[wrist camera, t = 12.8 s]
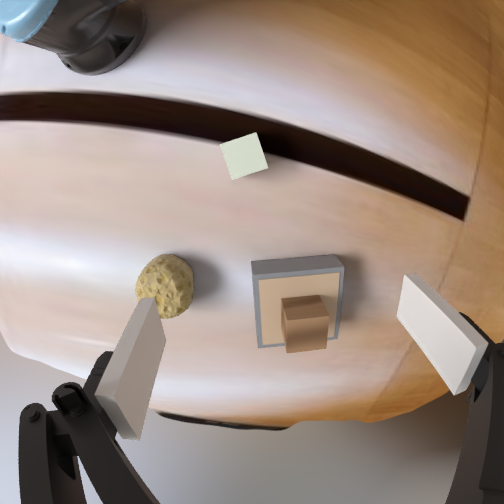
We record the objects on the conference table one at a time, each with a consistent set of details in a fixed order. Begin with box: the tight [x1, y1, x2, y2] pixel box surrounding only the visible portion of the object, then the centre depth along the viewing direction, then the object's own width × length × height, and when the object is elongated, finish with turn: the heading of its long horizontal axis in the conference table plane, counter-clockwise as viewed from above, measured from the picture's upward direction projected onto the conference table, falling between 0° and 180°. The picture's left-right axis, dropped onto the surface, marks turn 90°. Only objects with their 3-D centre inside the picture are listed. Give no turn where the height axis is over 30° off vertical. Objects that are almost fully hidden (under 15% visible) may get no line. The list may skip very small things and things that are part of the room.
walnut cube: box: [281, 295, 329, 353], centre depth 43 cm, size 6×6×6 cm
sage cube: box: [220, 133, 268, 180], centre depth 40 cm, size 5×5×5 cm
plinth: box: [251, 254, 344, 348], centre depth 48 cm, size 14×14×5 cm
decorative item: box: [135, 254, 194, 319], centre depth 46 cm, size 10×10×10 cm
